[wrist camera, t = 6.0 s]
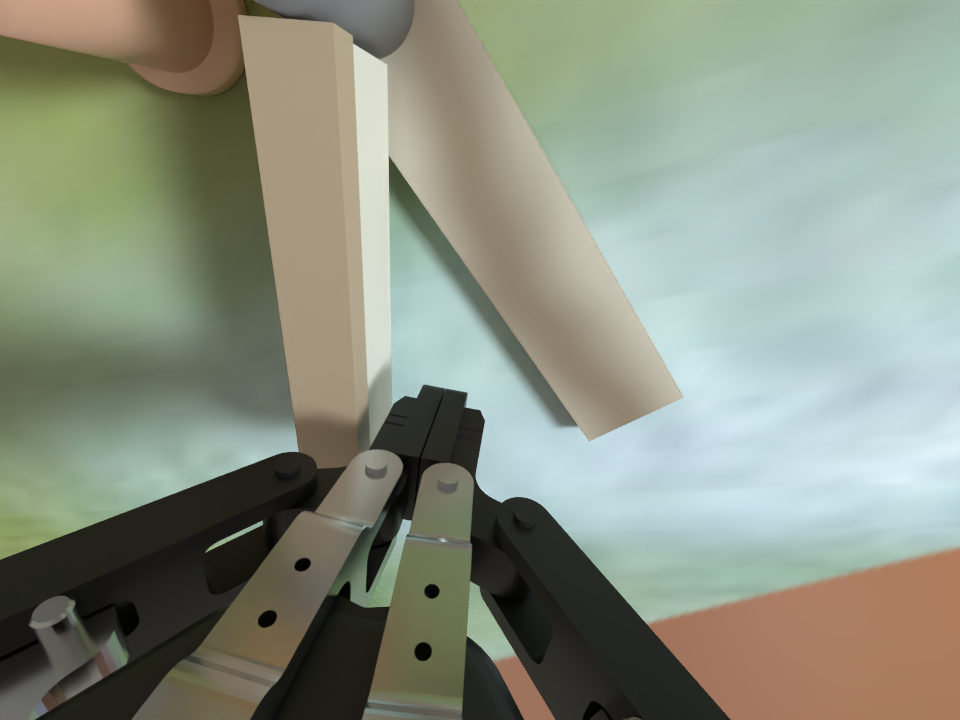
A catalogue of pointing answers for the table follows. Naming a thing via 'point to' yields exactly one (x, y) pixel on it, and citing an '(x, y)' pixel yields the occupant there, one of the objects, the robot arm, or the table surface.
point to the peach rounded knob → (141, 36)
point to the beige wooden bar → (328, 207)
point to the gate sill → (516, 223)
